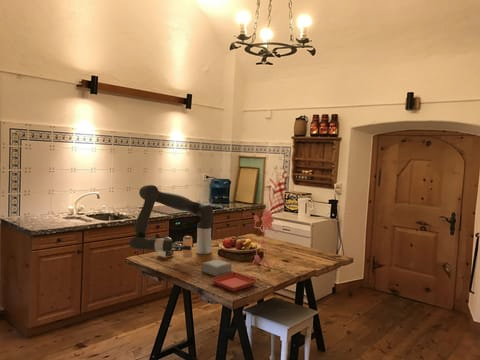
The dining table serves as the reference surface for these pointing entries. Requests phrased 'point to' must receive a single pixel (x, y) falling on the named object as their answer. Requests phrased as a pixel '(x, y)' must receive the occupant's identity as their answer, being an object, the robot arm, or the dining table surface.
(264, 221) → the figurine
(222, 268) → the grey lidded square box
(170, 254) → the medicine bottle
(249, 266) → the dining table surface
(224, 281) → the plant saucer
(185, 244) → the jar
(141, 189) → the robot arm
